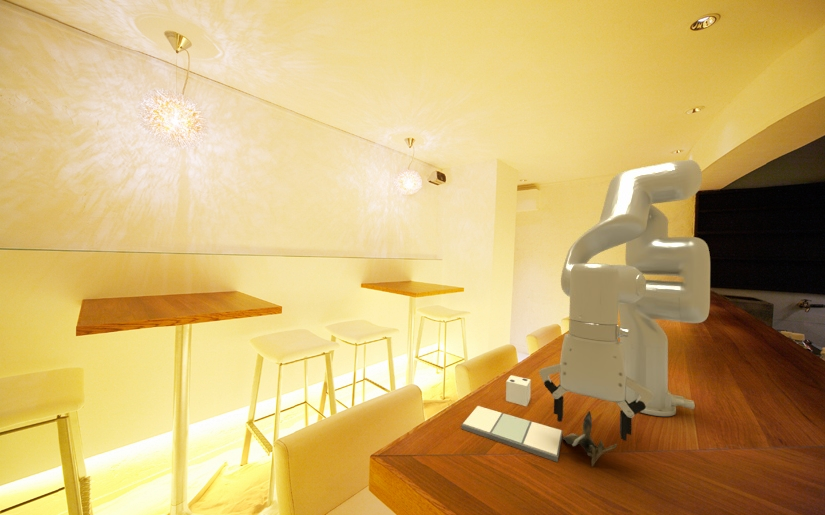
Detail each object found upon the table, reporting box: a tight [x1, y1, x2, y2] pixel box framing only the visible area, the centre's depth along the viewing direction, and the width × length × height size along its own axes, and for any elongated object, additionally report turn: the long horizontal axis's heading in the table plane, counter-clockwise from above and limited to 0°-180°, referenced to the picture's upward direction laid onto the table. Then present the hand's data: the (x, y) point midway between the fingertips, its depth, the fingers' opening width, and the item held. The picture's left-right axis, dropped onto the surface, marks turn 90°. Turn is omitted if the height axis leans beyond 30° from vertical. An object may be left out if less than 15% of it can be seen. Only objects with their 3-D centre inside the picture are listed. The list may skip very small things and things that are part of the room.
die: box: [505, 375, 532, 407], centre depth 74 cm, size 5×5×5 cm
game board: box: [460, 405, 564, 463], centre depth 60 cm, size 18×10×1 cm, turn 58°
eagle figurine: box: [562, 411, 618, 467], centre depth 54 cm, size 8×7×9 cm
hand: (590, 427), depth 52 cm, fingers open, 9 cm apart
